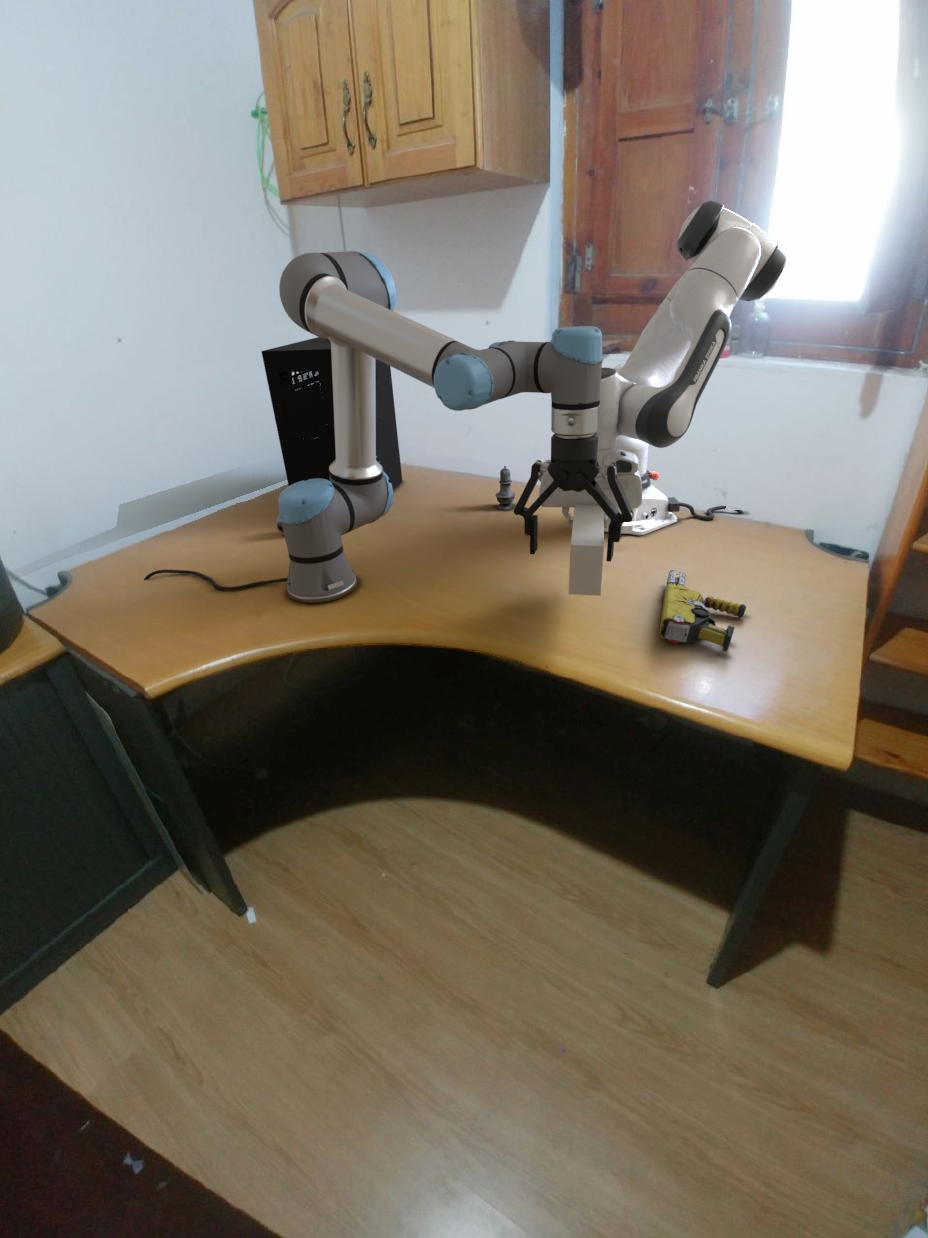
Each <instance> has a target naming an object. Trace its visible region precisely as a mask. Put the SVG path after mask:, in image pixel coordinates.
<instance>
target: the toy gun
mask: <svg viewBox="0 0 928 1238" xmlns="http://www.w3.org/2000/svg"><path fill="white" fill-rule="evenodd" d="M667 575H668V576H667V579H666V585H665V590H664V594H663V600H662V610H661V616H660V626H659V636H660V637H661V638H662V639H666V640H668V641H667V642H668V643H674V644H676V645H677V644H679V643H685V644H688V643H692V642H694V641H696V640H703V641H706V642H709V643H712V644H716V645H718V646H721V647H722V651H723V652H728V650H729V647H730V644H731V641H732V638H733V634H734V632H735V627H734V626H733V625H731V624H729V625H727V628H726V629H724V628H722V627H719V626H717V624H716V621H715V620H714V619H713V618H711V614H710V611H709V610H708V609H713V610H714V611H719V612H721V613H724V612H725V613H726V614H728V615H731V614H732V615H733V616H735V617H737V618H744V615H745V613H746V610H747V606H746V605H745V604H743V603H735V602H734V601H728V600H726V599H721V598H719V597H716V598H715V597H714V596H711V595H708V596H707V597H705V598H704V597H703V595H702V594H701V592H699V591H695V590H692V589H689V588H687V586H685V585H686V576H687V575H686V572H684V571H681V570H680V571H679V573H677V570H675V569H671V570H669V571H668V574H667ZM676 575H677V576H678V577H676Z"/></svg>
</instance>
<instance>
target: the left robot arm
mask: <svg viewBox="0 0 928 1238" xmlns="http://www.w3.org/2000/svg"><path fill="white" fill-rule="evenodd" d="M278 288H279V298H280V302H281V305H282V307H283V309H284V311H285V313H286V315H287V316H288V318H289V319H290V320H291V321H292V322H293V323H294V324H295V325H297V326H298V327H299V328H301V329H303V331H305V332H307V333H310V334H311V335H313V336H316V338H317V337H320V338H328V339H329V340H330V342H331V357H332V380H333V403H334V426H335V449H336V460H335V461H334V462H332V463H331V464H330V466H329V473H330V481H328V480H326V479H321V478H315V479H308V480H307V481H304V480H303V481H300V482H297V483H294V484H292V485H290V486H289V485H288V486H287V487H285V488H284V489H283V490H282V491H281V492H280V494H279V496H278V499H277V504H278V516H279V517H280V519H281V522H282V526H283V531H284V534H283V536H284V539H285V545H286V549H287V553H288V558H289V565H288V573H287V577H283V578H282V577H281V578H274V579H267V580H261V581H255V582H250V583H246V584H241V585H236V586H235V585H234V586H223V585H222V586H221V585H219V584H218V583H216V581H214V579H213V578H211V577H210V576H207V575H206V574H203V573H201V572H198V571H194V570H188V569H187V570H185V569H157V570H154V571H152V572H149V573H148V574H147V575H146V576H145V577H144V578H143V580H144V581H148V580H149V579H150V578H151V577H153V576H156V575H159V574H187V575H194V576H197V577H199V578H202V579H205V580H207V581H208V582H209V583H211V584H210V585H212V586H213V587H214V588H216V589H218V590H220V591H222V590H223V591H238V590H243V589H247V588H252V587H256V586H261V585H268V584H269V585H270V584H276V583H284V582H285V583H286V590H287V594H288V596H289V598H290V599H292V600H293V601H296V602H298V603H303V604H323V603H324V604H325V603H329V602H333V601H336V600H339V599H343V598H344V597H346V596H348V595H349V594H351V593H352V592H353V591H354V590H355V589H356V588H357V585H358V581H357V575H356V573H355V570H354V569H353V568H352V566H351V565H350V562H349V560H348V558H347V556H346V554H345V552H344V545H343V540H342V536H344V535H346V534H348V533H350V532H353V531H355V530H357V529H359V528H361V527H363V526H366V525H368V524H369V525H370V524H372V523H375V522H376V521H378V520H379V519H381V518H382V517H384V516H385V515H387V514H388V513H389V511H390V509H391V508H392V505H393V502H394V490H393V488H392V484H391V483H389V482H388V480H389V478H388V476H387V475H386V473H385V472H384V471H383V467H382V466H381V465H380V464H379V463H378V462H377V461H376V380H375V359H377V360H379V361H381V362H383V363H385V364H387V365H389V366H390V368H391V367H392V368H394V369H395V370H397V371H399V372H401V373H404V374H405V375H407V376H409V377H412V379H413V378H414V379H415V380H417V381H419V382H420V383H423V384H425V385H427V386H429V387H431V388H433V389H434V391H435V395H436V397H437V398H438V399H439V400H440V402H441V403H442V405H443V406H444V407H445V408H447V409H449V410H452V411H455V412H456V411H457V412H460V411H468V410H470V411H471V410H475V409H478V408H480V407H482V406H484V405H487V404H490V403H494V402H496V401H499V400H503V399H506V398H509V397H512V396H515V395H518V394H522V393H532V394H533V393H535V394H536V393H537V394H539V393H540V394H550V398H551V399H550V400H551V405H550V406H551V407H550V408H551V409H550V411H551V412H550V413H551V414H550V416H551V417H550V429H551V430H550V431H551V433H553V434H552V435H551V437H550V460H551V461H550V464H548V463H543V462H542V460H541V459H537V460H535V462H534V463H533V464H531V470H530V477H529V478H528V481H527V483H526V484H525V487H524V489H523V491H522V493H521V495H520V497H519V499H518V501H517V503H516V505H515V507H514V508H513V514H514V515H515V516H521V517H522V518H523V526H524V527H523V528H524V529H523V530H524V535H525V536H529V555H531V556H533V555H535V554H536V553H537V551H538V549H539V542H538V541H539V538H538V537H539V531H538V530H539V527H538V525H539V524H538V523H539V521H538V519H539V516H538V514H535V513H536V512H537V511H538V510H539V508H540V507H542V506H541V505H542V504H543V503H544V502H545V501H546V500H547V498H548V497H549V496H550V495H551V494H552V493H553V492H554V491H555V490H556V489H557V488H558V487H559V488H560V489H562V490H563V491H570V490H573V491H576V492H581V491H583V490H586V491H587V492H588V494H589V495H591V496H592V497H593V498H594V500H595V501H596V502H597V503H598V505H599V506H600V507H601V508H602V510H603V511H604V512H605V513H606V515H607V516H608V517H609V518H610V520H611V521H610V524H609V528H608V532H607V545H606V562H612V560H613V557H614V548H615V543H620V540H621V538H622V534H621V528H622V524H623V523H625V522H631V521H632V518H633V515H634V513H633V510H632V508H631V506H630V504H629V501H628V499H627V497H626V495H625V492H624V490H623V488H622V486H621V483H620V481H619V479H618V476H617V465H616V463H611V464H610V465H602V466H599V464H598V461H597V454H598V435H597V434H596V433H595V432H597V431H598V430H599V414H600V386H601V370H602V368H603V363H604V356H603V333H602V331H601V329H600V328H599V327H597V326H592V325H578V326H565V327H563V326H562V327H558V328H555V329H554V330H553V331H552V335H551V340H550V341H516V340H510V339H509V340H506V341H496V342H493V343H491V344H490V345H489V346H488V347H487V348H482V349H477V348H474V347H471V346H469V345H467V344H464V343H463V342H460V341H458V340H456V339H454V338H452V337H450V336H447V335H446V334H444V333H441V332H439V331H436V330H435V329H432V328H430V327H428V326H426V325H424V324H422V323H419V322H417V321H415V320H413V319H411V318H409V317H407V316H404V315H402V314H400V313H398V312H396V311H394V310H395V308H396V303H397V302H396V301H397V290H396V285H395V281H394V278H393V276H392V273H391V272H390V270H389V269H388V268H387V266H386V264H385V263H384V261H383V260H382V259H380V258H379V257H378V256H376V255H375V254H372V253H369V252H362V251H358V250H354V251H353V250H349V251H330V252H329V251H328V252H306V253H303V254H299V255H298V256H295V257H294V258H293V259H291V260H290V261H289V262H288V263H287V265H286V266H284V269H283V271H282V273H281V276H280V279H279V285H278ZM545 471H548V473H549V474H550V476H551V477H552V478H553V482H552V483H551V484H550V485H549V486H548V487H547V488H546V489H545V491H544V492H543V493H542V494H541V495H540V496H539V495H538V497H537V498H536V499H535V500H534V502H532V504H531V505H530V506H529V507H526V505H527V503H528V501H529V499H530V497H531V495H532V494H533V492H534V489H535V487H536V485H537V483H538V481H539V477H540V476H542V475H543V474H544V473H545ZM598 473H601V474H602V475H603V477H604V478H605V479H608V483H609V486H610V488H611V491H612V493H613V495H614V497H615V499H616V502H617V504H618V506H619V508H620V511H621V513H622V514H621V513H620V512H619V511H618V510H617V508H616V507H615V506H614V504H613V503H612V502H611V501H610V499H609V498H608V497H607V496H606V494H605V493H604V492H603V491H602V489H601V488H600V487H599V484H598V483H597V481H596V480H595V477H596V476H597V475H598Z"/></svg>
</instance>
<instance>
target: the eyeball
mask: <svg viewBox="0 0 928 1238" xmlns="http://www.w3.org/2000/svg"><path fill="white" fill-rule="evenodd" d="M275 527H276V529H277V530H278V531H279V532H280V533H281V534H282V535H284V531H283V526H282V522H281V519H280V517H279V515H278V516H277V517H276V520H275Z"/></svg>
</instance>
